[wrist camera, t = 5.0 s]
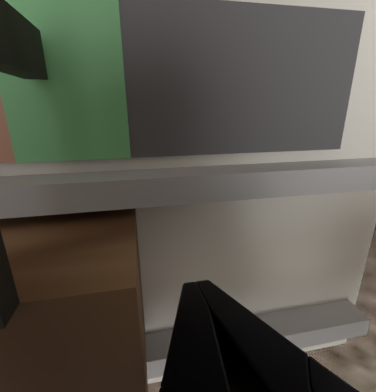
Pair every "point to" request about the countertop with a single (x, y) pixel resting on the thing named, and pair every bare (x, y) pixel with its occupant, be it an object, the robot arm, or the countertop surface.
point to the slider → (66, 278)
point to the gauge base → (209, 149)
